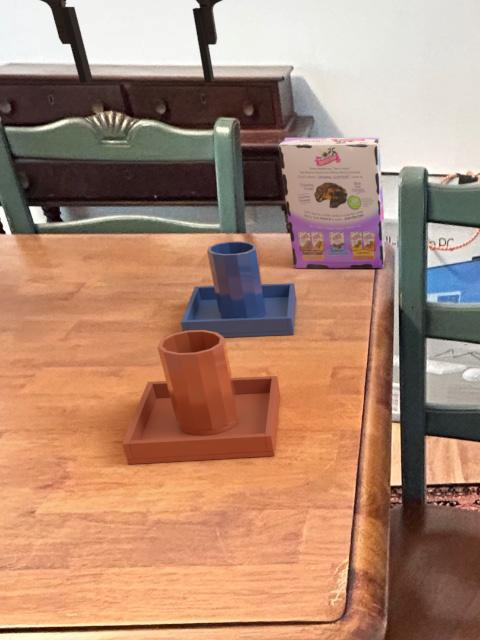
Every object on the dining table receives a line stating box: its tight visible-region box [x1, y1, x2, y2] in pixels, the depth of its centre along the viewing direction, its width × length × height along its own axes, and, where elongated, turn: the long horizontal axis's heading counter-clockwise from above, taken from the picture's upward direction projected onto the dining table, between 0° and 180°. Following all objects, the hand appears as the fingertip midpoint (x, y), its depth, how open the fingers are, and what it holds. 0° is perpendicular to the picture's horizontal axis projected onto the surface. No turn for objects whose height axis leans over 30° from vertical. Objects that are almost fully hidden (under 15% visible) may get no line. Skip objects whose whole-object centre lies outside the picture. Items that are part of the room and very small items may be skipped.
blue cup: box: [206, 240, 266, 319], centre depth 93 cm, size 6×6×8 cm
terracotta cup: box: [157, 330, 239, 435], centre depth 70 cm, size 6×6×8 cm
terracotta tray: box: [121, 375, 281, 465], centre depth 72 cm, size 13×13×2 cm
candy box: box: [278, 137, 386, 269], centre depth 108 cm, size 14×6×16 cm, turn 90°
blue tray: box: [180, 282, 297, 339], centre depth 95 cm, size 13×13×2 cm
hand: (148, 81), depth 84 cm, fingers open, 13 cm apart
